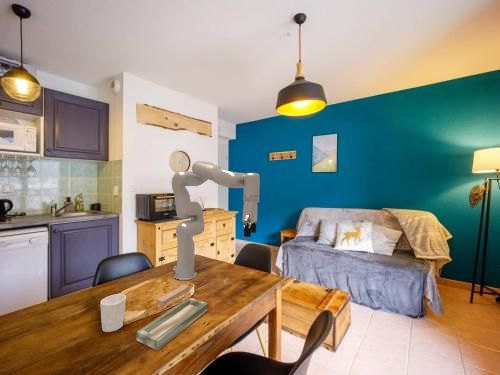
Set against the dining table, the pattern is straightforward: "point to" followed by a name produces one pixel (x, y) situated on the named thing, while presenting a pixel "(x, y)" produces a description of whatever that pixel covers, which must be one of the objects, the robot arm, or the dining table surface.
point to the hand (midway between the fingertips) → (250, 234)
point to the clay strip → (172, 295)
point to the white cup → (112, 312)
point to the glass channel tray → (171, 323)
